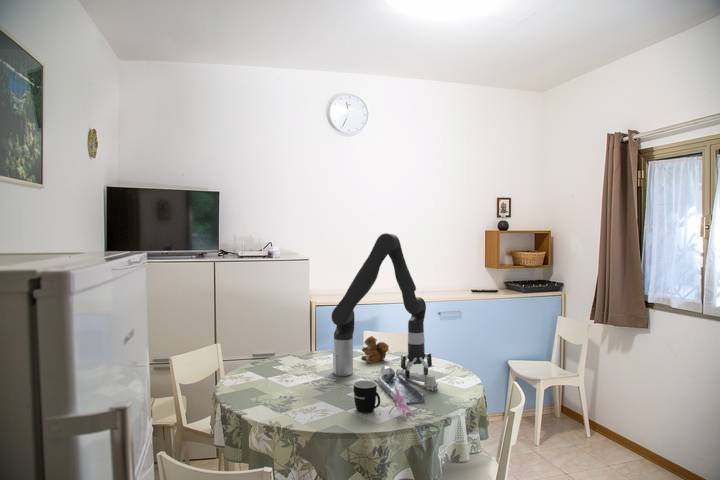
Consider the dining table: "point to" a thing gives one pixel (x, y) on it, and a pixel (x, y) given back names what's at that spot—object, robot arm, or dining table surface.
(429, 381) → the electric toothbrush
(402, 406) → the lily
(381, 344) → the stuffed squirrel
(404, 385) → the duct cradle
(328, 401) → the dining table surface
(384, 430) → the dining table surface
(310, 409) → the dining table surface
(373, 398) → the mug
